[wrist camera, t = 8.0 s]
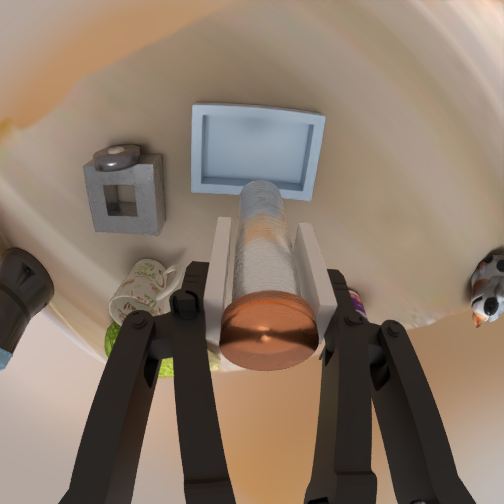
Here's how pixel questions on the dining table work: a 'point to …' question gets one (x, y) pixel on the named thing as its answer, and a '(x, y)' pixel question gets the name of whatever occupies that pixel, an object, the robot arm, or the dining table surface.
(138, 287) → the mug
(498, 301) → the lucky cat figurine
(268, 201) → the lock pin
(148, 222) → the block
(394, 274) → the dining table surface
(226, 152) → the tray
